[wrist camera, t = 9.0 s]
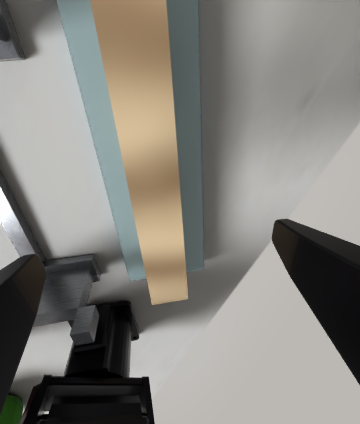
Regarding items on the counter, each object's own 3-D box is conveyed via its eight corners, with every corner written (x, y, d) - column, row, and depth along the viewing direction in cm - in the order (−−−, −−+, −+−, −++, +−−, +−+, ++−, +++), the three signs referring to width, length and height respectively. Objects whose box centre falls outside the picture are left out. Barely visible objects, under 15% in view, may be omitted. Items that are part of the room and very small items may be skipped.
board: (201, 260, 22) (203, 269, 21) (130, 271, 21) (129, 281, 20) (193, -16, 12) (197, -26, 11) (59, -10, 11) (51, -20, 10)
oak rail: (182, 272, 21) (188, 299, 18) (151, 277, 20) (152, 305, 18) (157, -25, 11) (161, -60, 8) (94, -23, 10) (78, -58, 8)
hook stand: (110, 273, 21) (90, 381, 13) (42, 283, 21) (-19, 402, 13) (22, -4, 11) (-245, -200, 4) (-112, 2, 11) (-774, -216, 3)
